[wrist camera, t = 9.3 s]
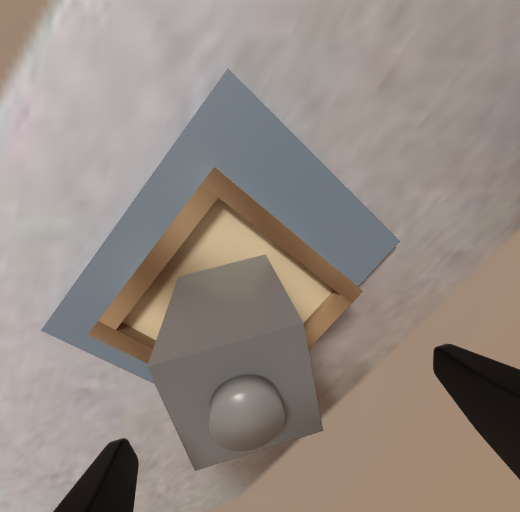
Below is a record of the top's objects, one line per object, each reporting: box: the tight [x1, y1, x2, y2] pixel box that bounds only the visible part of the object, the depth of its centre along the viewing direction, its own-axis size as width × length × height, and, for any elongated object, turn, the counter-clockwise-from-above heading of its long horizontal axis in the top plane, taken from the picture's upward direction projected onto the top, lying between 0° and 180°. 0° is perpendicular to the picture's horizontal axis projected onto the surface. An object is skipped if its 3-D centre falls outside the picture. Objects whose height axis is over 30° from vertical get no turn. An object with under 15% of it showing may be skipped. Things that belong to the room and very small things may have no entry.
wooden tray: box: [88, 167, 363, 364], centre depth 17 cm, size 11×11×4 cm
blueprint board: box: [41, 69, 400, 384], centre depth 19 cm, size 20×16×1 cm
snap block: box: [147, 254, 323, 471], centre depth 12 cm, size 5×5×8 cm
